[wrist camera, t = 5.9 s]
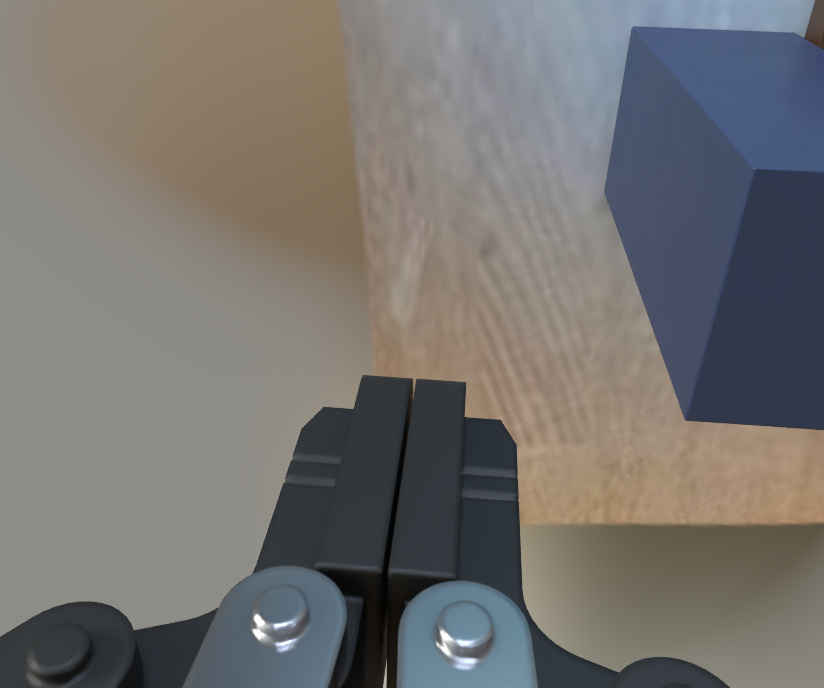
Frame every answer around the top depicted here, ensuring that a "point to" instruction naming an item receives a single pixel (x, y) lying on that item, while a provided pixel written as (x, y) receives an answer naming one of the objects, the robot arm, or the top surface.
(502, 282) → the top surface
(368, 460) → the robot arm
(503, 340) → the top surface
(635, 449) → the top surface
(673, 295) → the navy box
